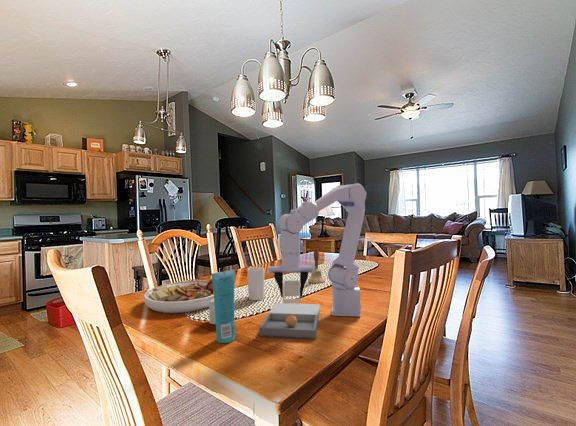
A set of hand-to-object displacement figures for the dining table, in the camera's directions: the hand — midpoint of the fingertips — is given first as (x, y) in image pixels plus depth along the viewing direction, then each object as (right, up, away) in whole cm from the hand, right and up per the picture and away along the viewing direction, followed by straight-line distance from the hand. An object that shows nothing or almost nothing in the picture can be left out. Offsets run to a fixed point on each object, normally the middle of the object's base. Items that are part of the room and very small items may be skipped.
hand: (291, 296), depth 94 cm
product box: (-23, -10, +4) cm, 25 cm away
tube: (-19, -10, -10) cm, 23 cm away
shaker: (0, -1, 0) cm, 1 cm away
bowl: (-41, -10, +25) cm, 49 cm away
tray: (0, -9, -4) cm, 10 cm away
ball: (0, -7, -3) cm, 7 cm away
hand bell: (+13, -8, +53) cm, 55 cm away
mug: (-14, -9, +29) cm, 34 cm away
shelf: (+1, -9, +7) cm, 11 cm away
